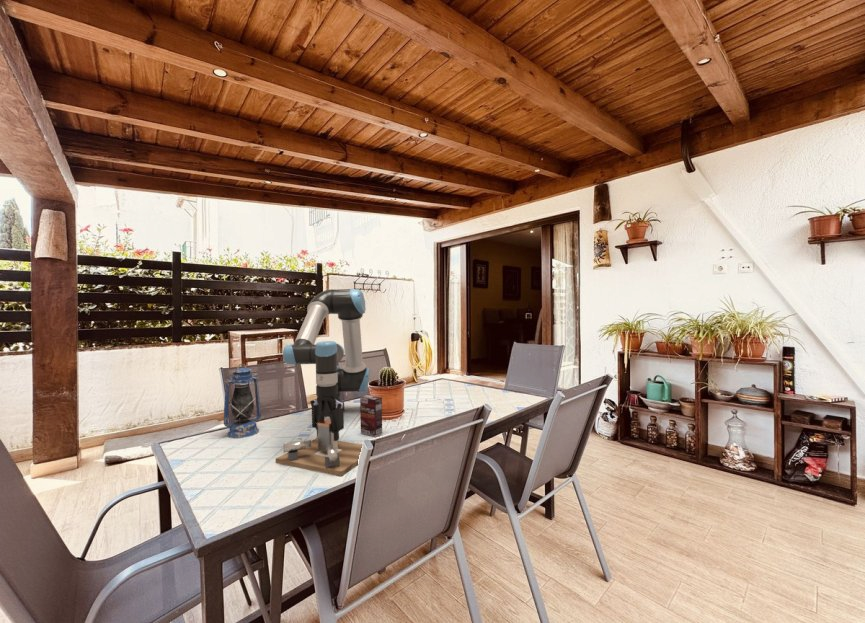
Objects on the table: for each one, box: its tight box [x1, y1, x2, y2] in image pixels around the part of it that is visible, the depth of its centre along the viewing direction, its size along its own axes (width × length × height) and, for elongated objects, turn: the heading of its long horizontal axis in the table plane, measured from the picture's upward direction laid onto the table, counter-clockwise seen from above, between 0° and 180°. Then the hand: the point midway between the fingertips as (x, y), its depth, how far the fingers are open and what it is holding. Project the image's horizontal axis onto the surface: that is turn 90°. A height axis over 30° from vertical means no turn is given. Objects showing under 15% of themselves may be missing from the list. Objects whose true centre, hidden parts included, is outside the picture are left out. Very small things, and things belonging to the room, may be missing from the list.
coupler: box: [318, 418, 333, 452], centre depth 136 cm, size 5×5×10 cm
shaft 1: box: [283, 439, 312, 461], centre depth 132 cm, size 9×4×5 cm, turn 112°
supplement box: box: [359, 394, 383, 438], centre depth 159 cm, size 9×5×16 cm, turn 58°
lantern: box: [223, 363, 262, 439], centre depth 162 cm, size 15×12×30 cm
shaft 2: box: [325, 443, 340, 469], centre depth 126 cm, size 9×4×5 cm, turn 22°
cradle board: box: [275, 437, 363, 477], centre depth 136 cm, size 22×28×2 cm
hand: (328, 447), depth 136 cm, fingers closed on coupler, 5 cm apart
